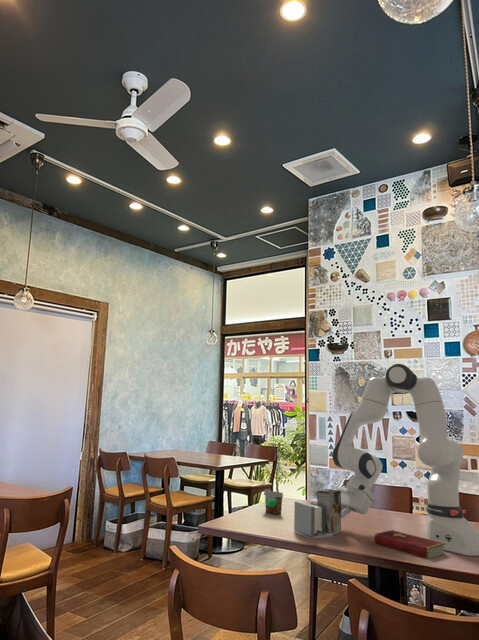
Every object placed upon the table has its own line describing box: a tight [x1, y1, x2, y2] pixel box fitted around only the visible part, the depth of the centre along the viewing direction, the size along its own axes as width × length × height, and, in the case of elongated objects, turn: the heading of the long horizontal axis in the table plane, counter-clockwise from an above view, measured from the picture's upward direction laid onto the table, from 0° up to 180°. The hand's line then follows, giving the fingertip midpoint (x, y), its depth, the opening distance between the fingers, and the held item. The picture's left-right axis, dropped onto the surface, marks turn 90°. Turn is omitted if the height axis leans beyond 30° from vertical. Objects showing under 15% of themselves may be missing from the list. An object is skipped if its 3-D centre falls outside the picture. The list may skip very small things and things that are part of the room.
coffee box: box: [316, 488, 342, 536], centre depth 184 cm, size 9×6×16 cm
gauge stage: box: [310, 502, 326, 533], centre depth 179 cm, size 9×5×10 cm, turn 28°
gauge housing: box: [293, 501, 334, 540], centre depth 179 cm, size 11×10×12 cm
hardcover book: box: [373, 529, 445, 560], centre depth 164 cm, size 12×21×4 cm, turn 40°
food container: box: [263, 488, 284, 516], centre depth 216 cm, size 12×6×10 cm, turn 25°
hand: (339, 516), depth 186 cm, fingers closed
